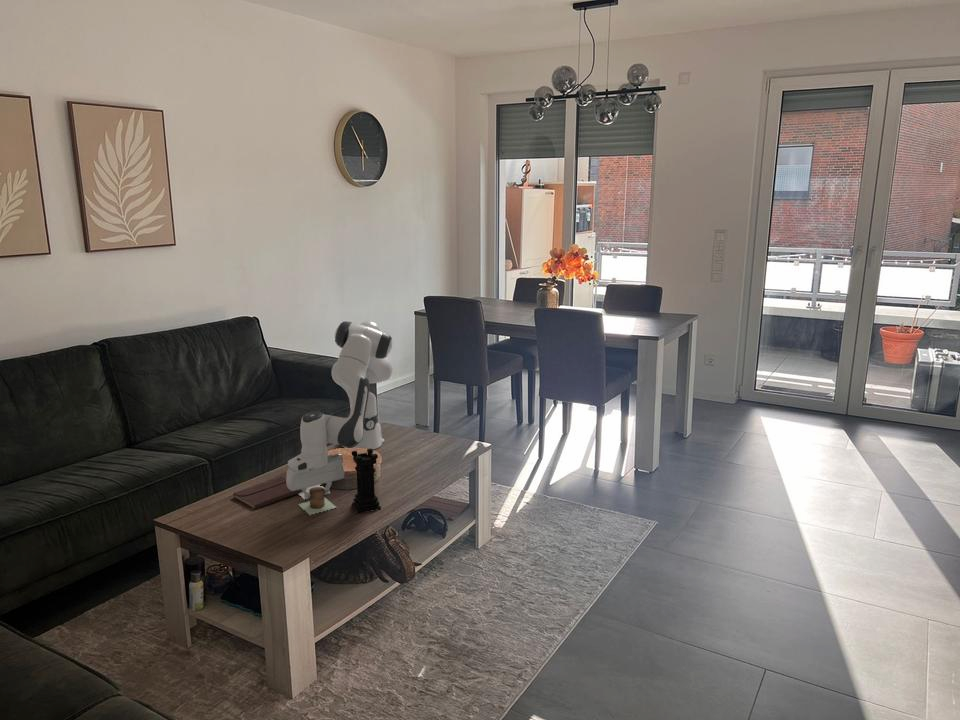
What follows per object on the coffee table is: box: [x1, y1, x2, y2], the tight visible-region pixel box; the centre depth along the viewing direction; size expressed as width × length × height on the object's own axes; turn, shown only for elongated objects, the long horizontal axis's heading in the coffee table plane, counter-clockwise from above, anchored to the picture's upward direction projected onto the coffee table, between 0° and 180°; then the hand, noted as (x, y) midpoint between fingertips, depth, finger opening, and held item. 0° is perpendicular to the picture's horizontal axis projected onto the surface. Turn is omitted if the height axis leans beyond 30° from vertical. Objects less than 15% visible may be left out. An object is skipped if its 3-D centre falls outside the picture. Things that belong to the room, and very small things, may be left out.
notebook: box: [233, 475, 303, 510], centre depth 257 cm, size 15×20×2 cm
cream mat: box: [297, 484, 331, 501], centre depth 260 cm, size 10×10×1 cm
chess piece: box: [351, 448, 382, 514], centre depth 245 cm, size 8×8×20 cm
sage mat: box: [297, 496, 337, 516], centre depth 248 cm, size 10×10×1 cm
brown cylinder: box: [309, 487, 325, 509], centre depth 247 cm, size 5×5×6 cm
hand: (316, 495), depth 247 cm, fingers open, 5 cm apart
